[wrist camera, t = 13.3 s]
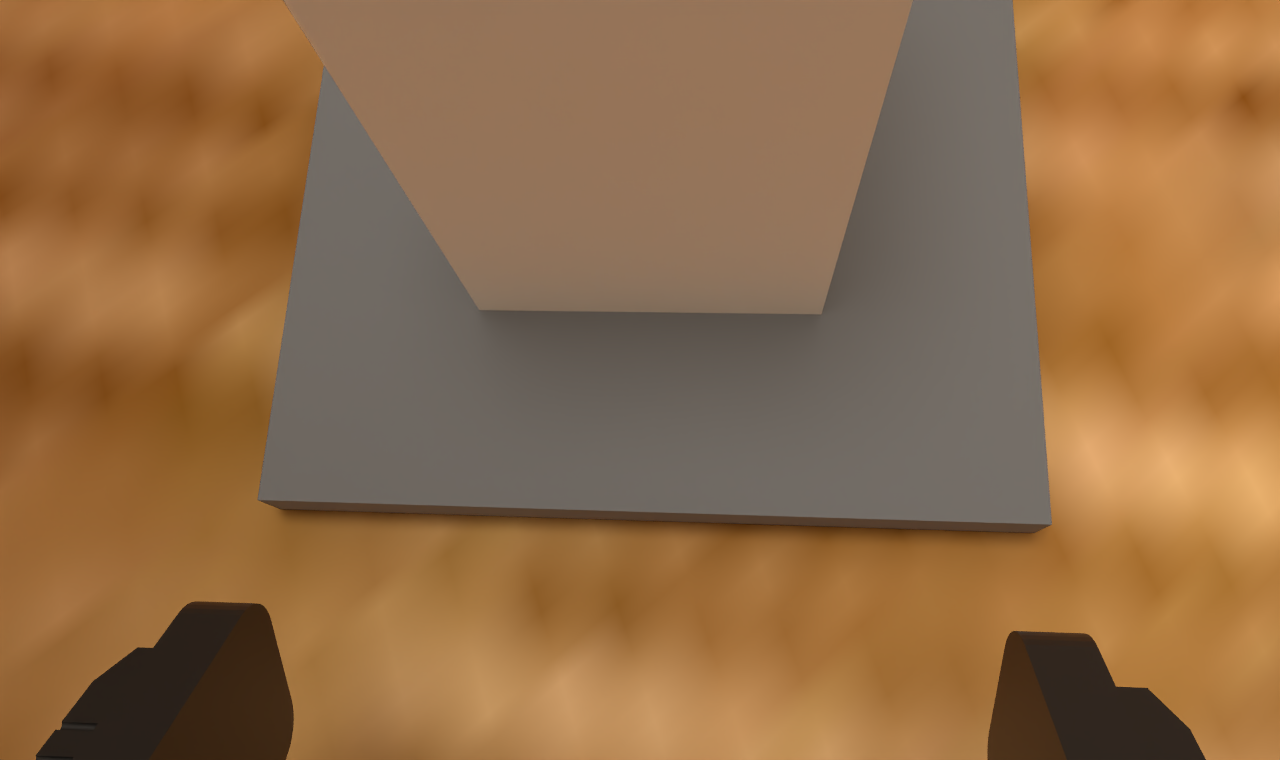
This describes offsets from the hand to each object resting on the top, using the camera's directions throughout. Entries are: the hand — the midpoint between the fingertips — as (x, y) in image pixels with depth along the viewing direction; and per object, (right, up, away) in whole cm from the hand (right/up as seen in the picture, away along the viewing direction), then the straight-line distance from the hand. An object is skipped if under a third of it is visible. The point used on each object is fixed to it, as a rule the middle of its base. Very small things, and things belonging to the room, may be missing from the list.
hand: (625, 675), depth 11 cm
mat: (+1, +7, +10) cm, 12 cm away
